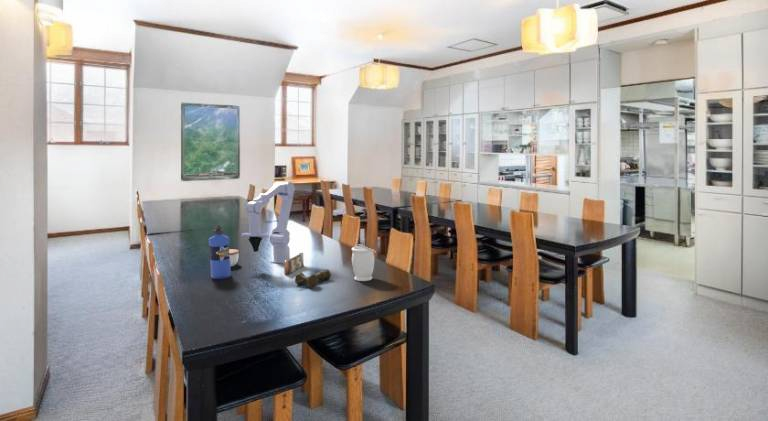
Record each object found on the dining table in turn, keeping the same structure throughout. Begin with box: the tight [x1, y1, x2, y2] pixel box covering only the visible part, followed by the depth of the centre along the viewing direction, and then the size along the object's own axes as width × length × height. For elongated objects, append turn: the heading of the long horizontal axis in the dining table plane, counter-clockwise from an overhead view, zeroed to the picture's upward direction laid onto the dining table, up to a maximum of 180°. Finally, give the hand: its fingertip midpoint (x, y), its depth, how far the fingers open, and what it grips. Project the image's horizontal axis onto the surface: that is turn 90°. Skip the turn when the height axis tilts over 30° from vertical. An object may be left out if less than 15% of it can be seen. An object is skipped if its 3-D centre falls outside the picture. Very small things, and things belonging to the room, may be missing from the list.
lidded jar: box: [229, 248, 240, 268], centre depth 240 cm, size 11×11×9 cm
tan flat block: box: [288, 254, 302, 274], centre depth 229 cm, size 14×2×7 cm, turn 165°
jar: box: [351, 245, 375, 282], centre depth 211 cm, size 11×10×15 cm
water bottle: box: [208, 224, 232, 280], centre depth 218 cm, size 9×9×25 cm
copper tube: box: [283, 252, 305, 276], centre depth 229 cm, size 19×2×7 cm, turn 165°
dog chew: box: [294, 268, 331, 289], centre depth 205 cm, size 6×10×20 cm
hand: (255, 251), depth 231 cm, fingers closed
